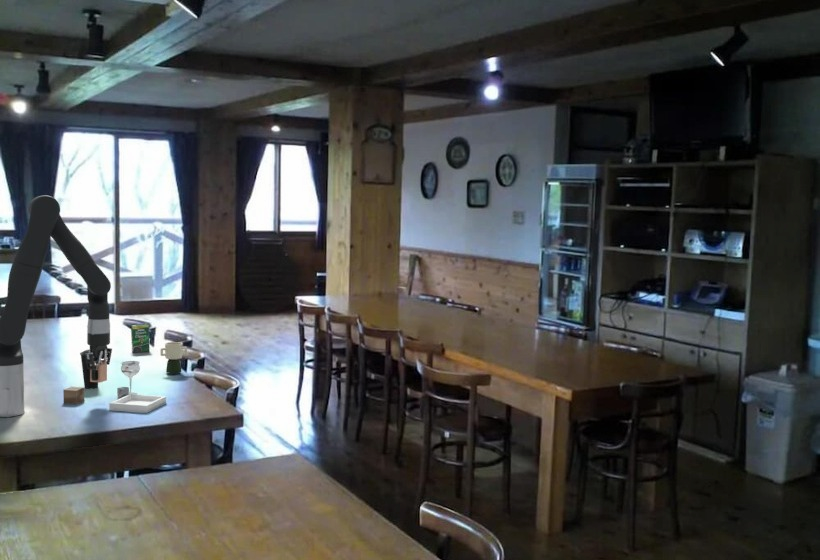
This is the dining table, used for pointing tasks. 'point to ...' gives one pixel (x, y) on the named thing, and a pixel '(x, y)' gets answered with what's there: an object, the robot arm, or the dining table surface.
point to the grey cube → (122, 392)
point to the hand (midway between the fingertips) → (98, 378)
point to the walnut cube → (73, 395)
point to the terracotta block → (100, 373)
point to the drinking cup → (87, 372)
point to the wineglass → (130, 370)
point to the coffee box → (140, 338)
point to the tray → (137, 403)
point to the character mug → (173, 356)
